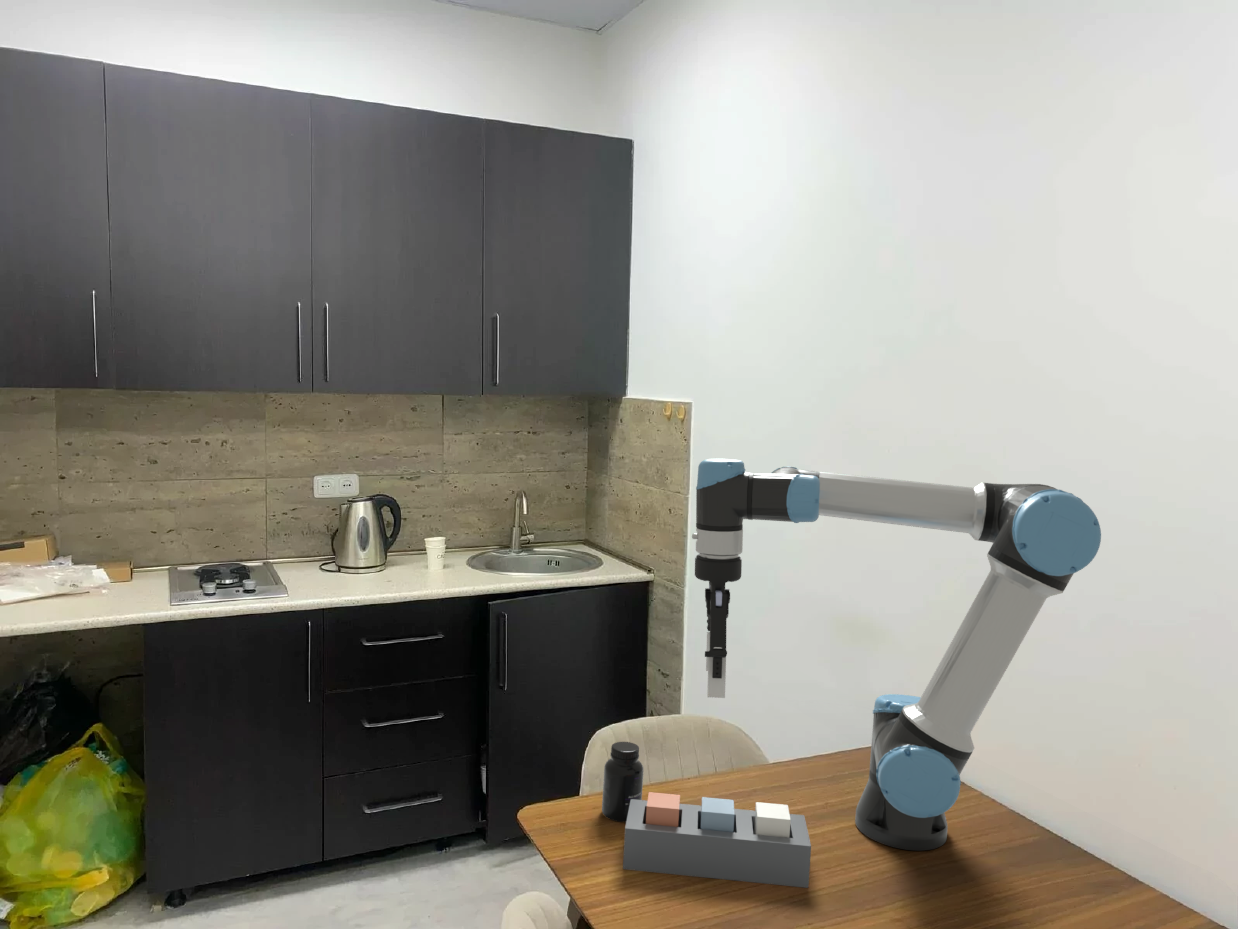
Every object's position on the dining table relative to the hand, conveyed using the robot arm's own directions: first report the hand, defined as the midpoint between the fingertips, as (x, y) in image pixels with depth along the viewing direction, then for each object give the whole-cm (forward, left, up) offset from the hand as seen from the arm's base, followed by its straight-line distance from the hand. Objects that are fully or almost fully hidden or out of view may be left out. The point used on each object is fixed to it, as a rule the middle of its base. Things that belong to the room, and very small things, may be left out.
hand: (715, 683), depth 147 cm
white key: (-10, +8, -22) cm, 25 cm away
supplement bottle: (+15, -5, -26) cm, 31 cm away
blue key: (-1, +8, -22) cm, 23 cm away
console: (-1, +8, -26) cm, 27 cm away
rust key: (+7, +8, -22) cm, 24 cm away
